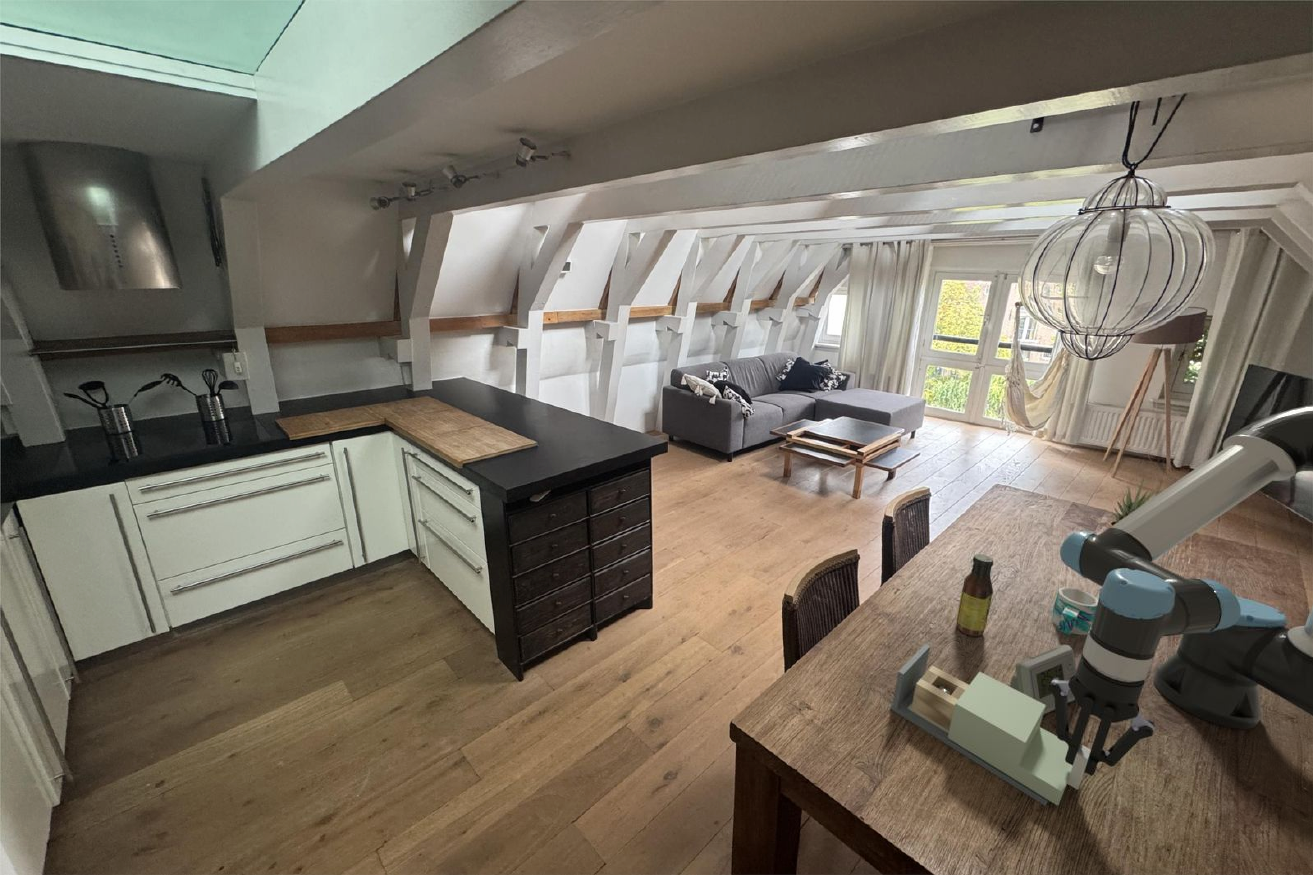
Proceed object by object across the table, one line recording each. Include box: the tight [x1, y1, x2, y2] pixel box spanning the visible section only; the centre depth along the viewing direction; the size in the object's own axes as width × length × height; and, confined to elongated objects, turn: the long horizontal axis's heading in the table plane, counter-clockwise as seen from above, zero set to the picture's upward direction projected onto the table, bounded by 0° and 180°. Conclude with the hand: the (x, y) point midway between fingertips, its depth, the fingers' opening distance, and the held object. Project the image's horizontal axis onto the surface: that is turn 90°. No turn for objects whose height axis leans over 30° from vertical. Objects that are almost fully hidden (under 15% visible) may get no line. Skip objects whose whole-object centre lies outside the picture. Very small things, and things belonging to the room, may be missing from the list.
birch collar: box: [912, 665, 970, 730], centre depth 100 cm, size 8×8×6 cm
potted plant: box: [1107, 477, 1160, 529], centre depth 164 cm, size 10×10×25 cm
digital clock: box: [1009, 644, 1077, 716], centre depth 103 cm, size 16×9×11 cm, turn 101°
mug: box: [1050, 586, 1099, 636], centre depth 126 cm, size 8×12×8 cm
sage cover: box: [948, 671, 1072, 807], centre depth 91 cm, size 17×12×8 cm
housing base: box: [890, 643, 1049, 807], centre depth 95 cm, size 26×12×9 cm, turn 41°
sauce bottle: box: [956, 553, 994, 637], centre depth 123 cm, size 6×6×20 cm
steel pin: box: [939, 686, 951, 695], centre depth 100 cm, size 2×2×6 cm
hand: (1074, 781), depth 85 cm, fingers closed
